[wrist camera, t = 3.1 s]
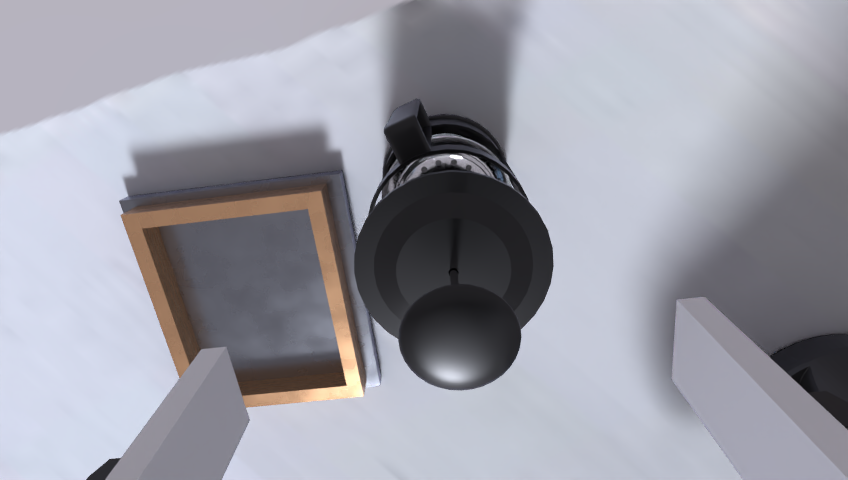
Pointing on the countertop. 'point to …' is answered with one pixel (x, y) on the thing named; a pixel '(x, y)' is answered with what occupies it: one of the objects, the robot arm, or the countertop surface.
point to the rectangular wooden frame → (260, 284)
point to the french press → (451, 251)
